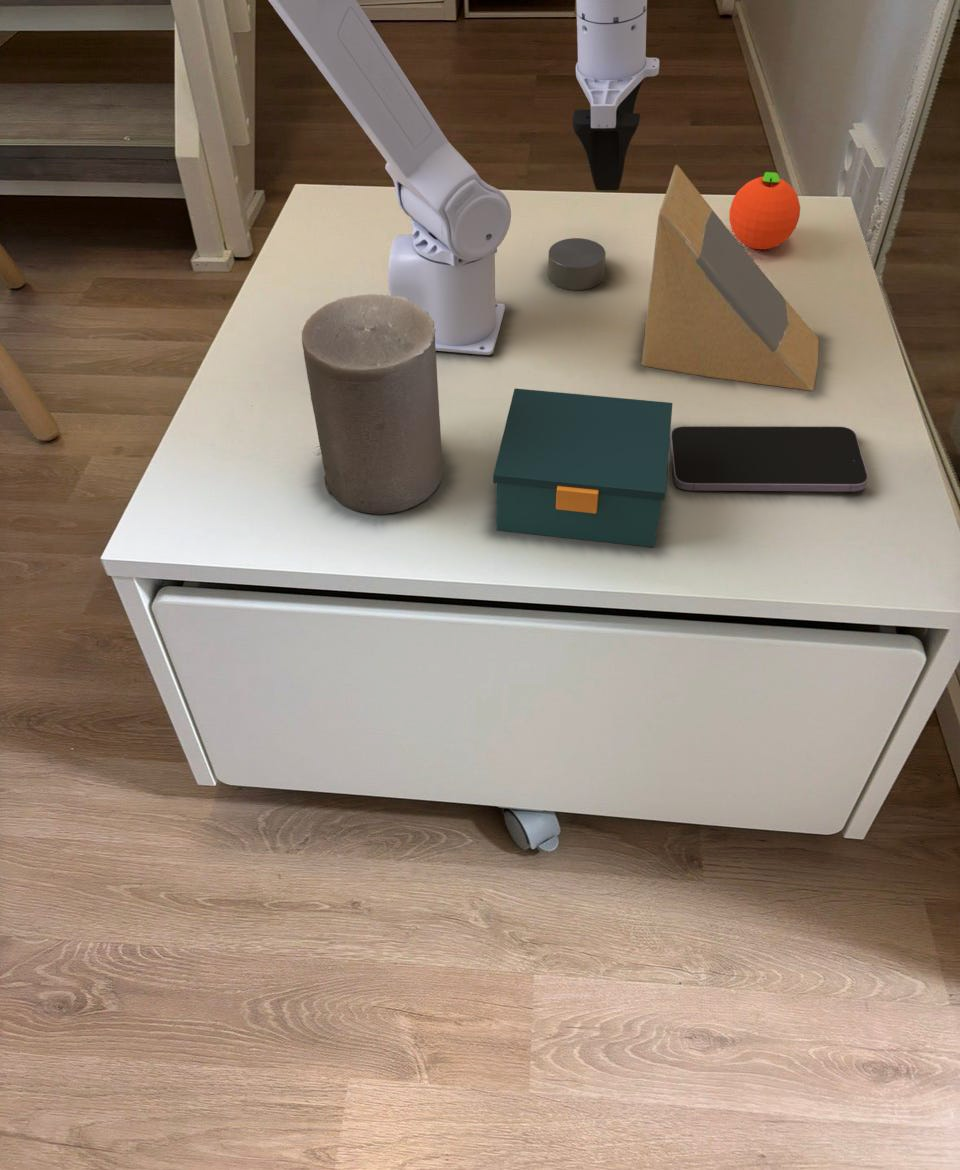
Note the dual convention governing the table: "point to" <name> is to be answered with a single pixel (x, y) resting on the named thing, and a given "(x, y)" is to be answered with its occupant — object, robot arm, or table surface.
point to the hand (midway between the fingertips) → (611, 165)
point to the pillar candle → (375, 401)
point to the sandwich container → (718, 303)
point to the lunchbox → (583, 467)
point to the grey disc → (576, 264)
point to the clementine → (764, 212)
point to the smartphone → (767, 458)
